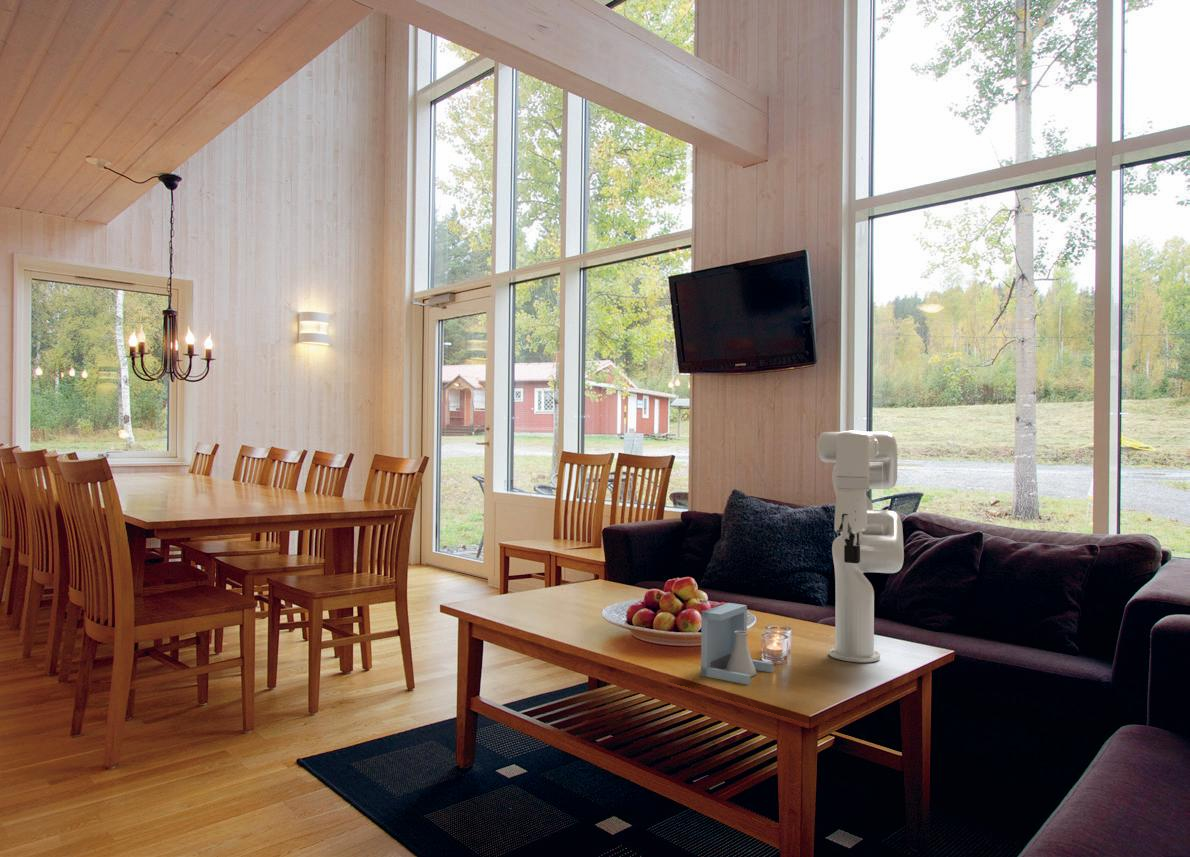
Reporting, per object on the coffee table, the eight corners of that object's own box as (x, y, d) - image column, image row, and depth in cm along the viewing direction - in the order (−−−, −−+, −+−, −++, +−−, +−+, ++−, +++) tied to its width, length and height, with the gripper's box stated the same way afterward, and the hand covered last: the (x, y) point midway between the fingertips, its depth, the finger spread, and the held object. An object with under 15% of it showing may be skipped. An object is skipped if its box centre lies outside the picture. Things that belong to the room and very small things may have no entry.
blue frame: (728, 663, 203) (728, 602, 203) (773, 671, 196) (773, 608, 196) (701, 675, 191) (701, 611, 192) (747, 684, 184) (748, 618, 185)
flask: (762, 675, 192) (762, 632, 193) (741, 680, 188) (741, 636, 188) (740, 668, 198) (740, 627, 199) (718, 673, 194) (719, 630, 194)
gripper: (847, 483, 200) (847, 557, 199) (825, 484, 188) (825, 564, 187) (878, 484, 195) (878, 560, 195) (857, 486, 183) (857, 567, 183)
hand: (852, 562), depth 191 cm, fingers closed
